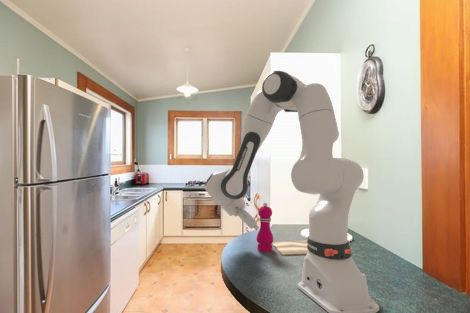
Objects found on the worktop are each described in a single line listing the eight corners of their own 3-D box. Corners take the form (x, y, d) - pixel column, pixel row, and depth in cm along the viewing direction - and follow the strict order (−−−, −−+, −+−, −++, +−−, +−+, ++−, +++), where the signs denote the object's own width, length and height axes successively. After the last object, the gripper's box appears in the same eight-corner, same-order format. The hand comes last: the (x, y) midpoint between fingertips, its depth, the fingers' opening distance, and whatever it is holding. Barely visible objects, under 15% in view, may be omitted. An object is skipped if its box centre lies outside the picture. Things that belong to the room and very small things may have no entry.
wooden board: (328, 253, 105) (328, 252, 105) (282, 255, 102) (282, 254, 102) (311, 241, 121) (311, 240, 121) (270, 243, 118) (270, 241, 118)
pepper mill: (271, 253, 104) (272, 204, 105) (254, 251, 107) (255, 203, 107) (274, 247, 111) (275, 202, 112) (258, 245, 114) (259, 200, 114)
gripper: (244, 204, 97) (269, 229, 99) (235, 197, 118) (256, 217, 119) (233, 216, 96) (257, 241, 98) (226, 206, 117) (246, 227, 118)
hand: (256, 228), depth 108 cm, fingers closed
